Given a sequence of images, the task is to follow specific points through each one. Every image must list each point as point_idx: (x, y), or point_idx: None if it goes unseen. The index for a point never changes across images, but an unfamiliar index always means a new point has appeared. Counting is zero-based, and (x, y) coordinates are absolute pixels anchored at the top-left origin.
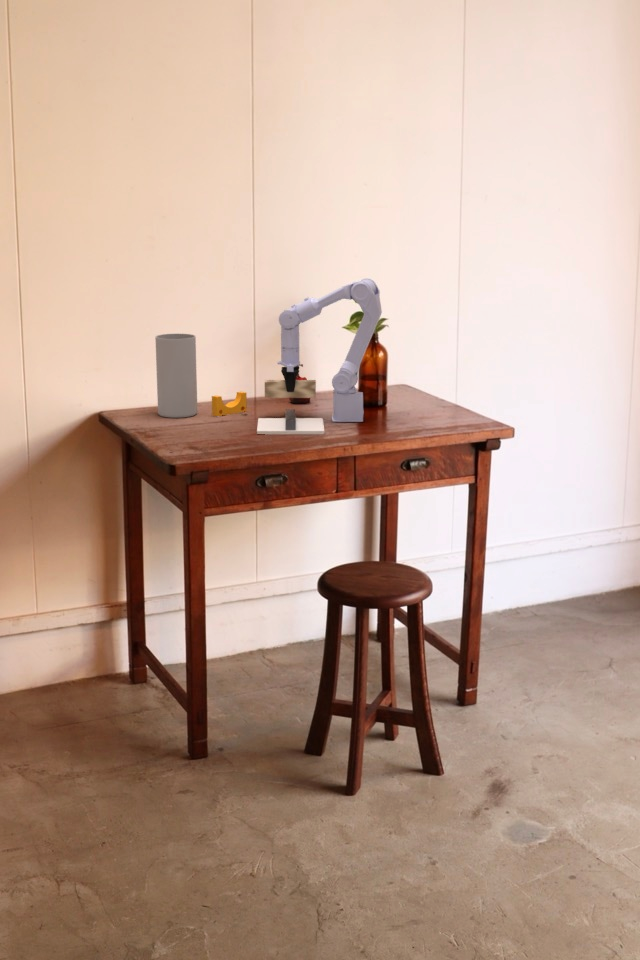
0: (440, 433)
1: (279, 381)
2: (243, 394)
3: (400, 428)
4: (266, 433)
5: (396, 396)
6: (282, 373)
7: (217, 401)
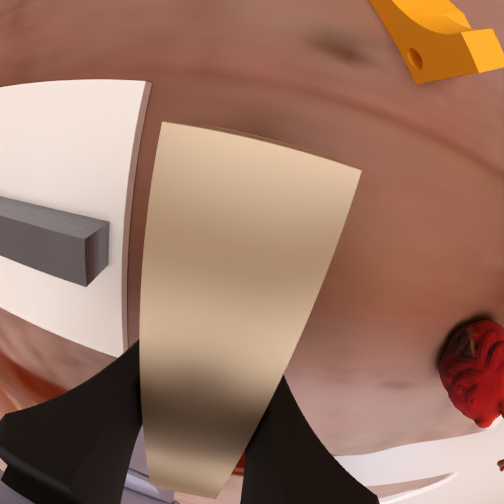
0: None
1: (169, 343)
2: (462, 49)
3: None
4: None
5: (378, 486)
6: (6, 415)
7: None
